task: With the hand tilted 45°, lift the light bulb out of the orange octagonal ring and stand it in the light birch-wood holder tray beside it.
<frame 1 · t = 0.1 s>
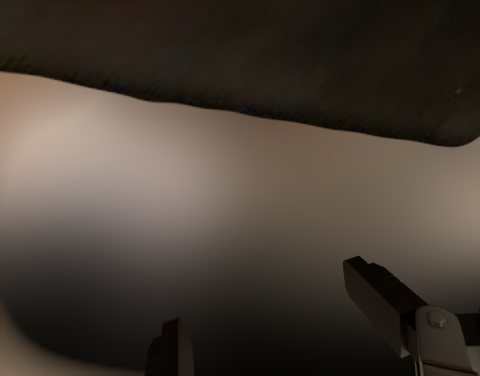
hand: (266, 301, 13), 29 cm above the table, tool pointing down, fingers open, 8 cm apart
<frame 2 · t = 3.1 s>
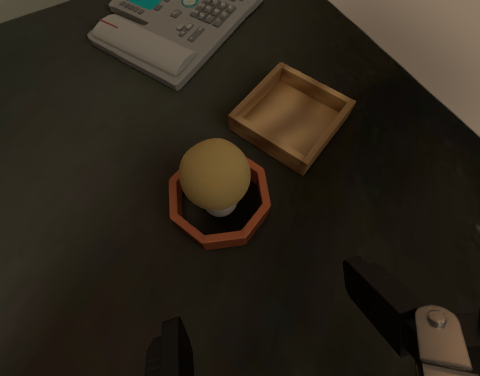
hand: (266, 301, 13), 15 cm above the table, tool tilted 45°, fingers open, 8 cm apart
office telephone: (173, 20, 45), on the table
tray: (289, 122, 36), on the table
orange octagonal ring: (220, 203, 32), on the table
light bulb: (220, 203, 32), resting in orange octagonal ring
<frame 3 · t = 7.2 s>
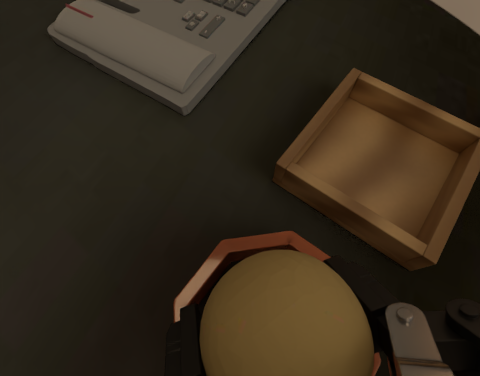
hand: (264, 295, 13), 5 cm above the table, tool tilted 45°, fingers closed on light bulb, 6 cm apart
office telephone: (177, 8, 31), on the table
tray: (371, 168, 22), on the table
orange octagonal ring: (268, 328, 17), on the table
light bulb: (267, 328, 17), resting in orange octagonal ring, touching gripper
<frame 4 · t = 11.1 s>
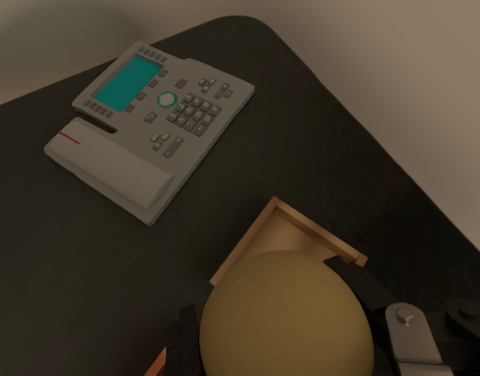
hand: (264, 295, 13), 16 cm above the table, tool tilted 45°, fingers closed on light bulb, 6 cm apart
office telephone: (148, 121, 38), on the table
tray: (285, 273, 30), on the table
light bulb: (267, 328, 17), point 11 cm above the table, touching gripper
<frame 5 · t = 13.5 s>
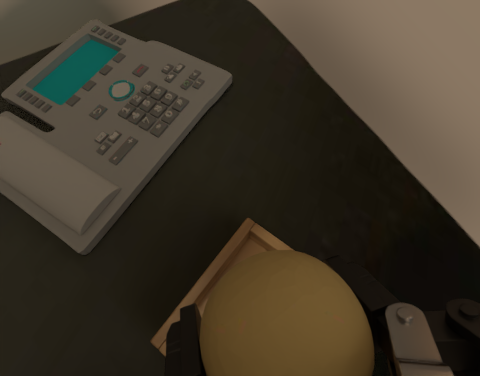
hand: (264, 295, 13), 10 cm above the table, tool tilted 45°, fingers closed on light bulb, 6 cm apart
office telephone: (98, 117, 31), on the table
tray: (261, 323, 22), on the table
light bulb: (267, 328, 17), point 5 cm above the table, touching gripper
when the fingers open (5 cm above the table, at t = 15.3 s): light bulb stays where it is, resting on tray.
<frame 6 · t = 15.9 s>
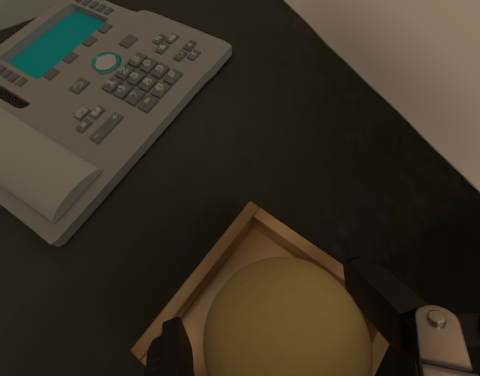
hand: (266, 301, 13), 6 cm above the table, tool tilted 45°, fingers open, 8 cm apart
office telephone: (81, 93, 27), on the table
tray: (267, 327, 18), on the table
light bulb: (269, 331, 18), resting on tray
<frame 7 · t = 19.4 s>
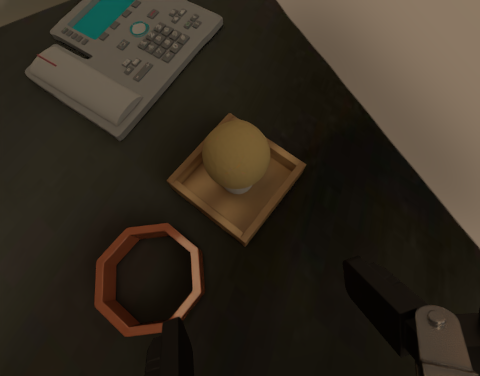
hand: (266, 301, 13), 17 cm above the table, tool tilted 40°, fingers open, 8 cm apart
office telephone: (122, 50, 41), on the table
tray: (237, 181, 34), on the table
orange octagonal ring: (156, 277, 30), on the table
light bulb: (237, 181, 33), resting on tray
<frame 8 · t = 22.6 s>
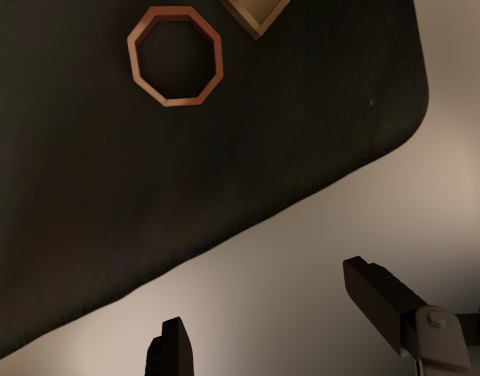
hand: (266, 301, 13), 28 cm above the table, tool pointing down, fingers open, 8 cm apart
orange octagonal ring: (177, 61, 34), on the table
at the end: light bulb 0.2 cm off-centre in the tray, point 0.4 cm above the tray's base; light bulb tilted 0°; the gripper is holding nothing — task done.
